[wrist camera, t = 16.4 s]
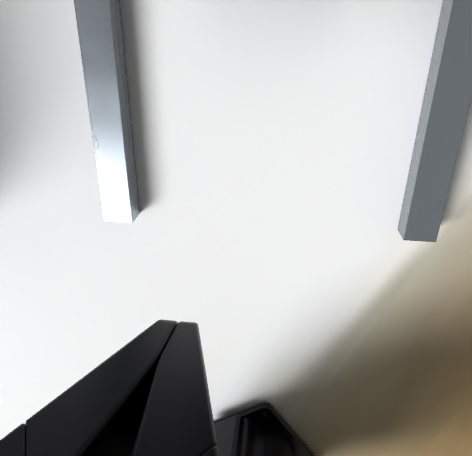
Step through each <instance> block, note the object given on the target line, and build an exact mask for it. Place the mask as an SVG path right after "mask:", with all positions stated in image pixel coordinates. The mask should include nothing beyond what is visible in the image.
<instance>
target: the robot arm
mask: <svg viewBox="0 0 472 456" xmlns="http://www.w3.org/2000/svg"><path fill="white" fill-rule="evenodd" d="M0 456H314V455H313V453H312V452H311V451H310V450H309V449H308V448H307V447H306V445H305V444H304V443H303V442H302V441H301V440H300V438H299V437H298V436H297V435H296V434H295V433H294V431H293V430H292V429H291V428H290V427H289V426H288V424H287V423H286V422H285V421H284V420H283V419H282V417H281V416H280V415H279V414H278V413H277V412H276V410H275V409H274V408H273V407H272V406H271V405H270V404H267V403H262V404H259V405H257V406H254V407H252V408H249V409H247V410H244V411H242V412H240V413H237V414H235V415H232V416H230V417H227V418H225V419H223V420H220V421H218V422H215V423H214V421H213V415H212V409H211V402H210V396H209V390H208V384H207V378H206V371H205V365H204V359H203V353H202V347H201V340H200V334H199V328H198V324H197V323H194V322H179V323H178V322H176V321H171V320H158V321H157V322H155V323H154V324H153V325H151V326H150V327H149V328H147V329H146V330H145V331H144V332H142V333H141V334H140V335H138V336H137V337H136V338H134V339H133V340H132V341H130V342H129V343H128V344H126V345H125V346H124V347H122V348H121V349H120V350H119V351H117V352H116V353H115V354H113V355H112V356H111V357H109V358H108V359H107V360H105V361H104V362H103V363H101V364H100V365H99V366H97V367H96V368H95V369H94V370H92V371H91V372H90V373H88V374H87V375H86V376H84V377H83V378H82V379H80V380H79V381H78V382H76V383H75V384H74V385H73V386H71V387H70V388H69V389H67V390H66V391H65V392H63V393H62V394H61V395H59V396H58V397H57V398H55V399H54V400H53V401H51V402H50V403H49V404H48V405H46V406H45V407H44V408H42V409H41V410H40V411H38V412H37V413H36V414H34V415H33V416H32V417H30V418H29V419H28V420H27V421H26V425H25V424H21V425H20V426H18V427H17V428H16V429H14V430H13V431H12V432H10V433H9V434H8V435H7V436H5V437H4V438H3V439H1V440H0Z"/></svg>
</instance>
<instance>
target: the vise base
mask: <svg viewBox="0 0 472 456" xmlns="http://www.w3.org/2000/svg"><path fill="white" fill-rule="evenodd" d="M74 5H75V12H76V20H77V27H78V34H79V42H80V49H81V56H82V64H83V71H84V79H85V86H86V93H87V101H88V108H89V115H90V123H91V130H92V137H93V145H94V152H95V159H96V167H97V174H98V181H99V189H100V196H101V203H102V211H103V218H104V221H112V222H128V223H132V222H133V221H134V220H135V218H136V217H137V216H138V215H139V214H140V213H139V202H138V192H137V181H136V171H135V160H134V150H133V139H132V129H131V118H130V108H129V97H128V87H127V76H126V66H125V55H124V45H123V34H122V24H121V13H120V2H119V0H74ZM471 98H472V0H443V4H442V9H441V14H440V19H439V24H438V29H437V34H436V39H435V44H434V49H433V54H432V59H431V64H430V69H429V74H428V79H427V84H426V89H425V94H424V100H423V105H422V110H421V115H420V120H419V125H418V130H417V135H416V140H415V145H414V150H413V155H412V160H411V165H410V170H409V175H408V180H407V185H406V190H405V195H404V200H403V205H402V210H401V215H400V220H399V225H398V231H399V233H400V235H401V236H402V238H403V240H411V241H426V242H436V240H437V236H438V232H439V228H440V224H441V220H442V216H443V211H444V207H445V203H446V199H447V195H448V191H449V187H450V183H451V179H452V175H453V171H454V167H455V163H456V159H457V154H458V150H459V146H460V142H461V138H462V134H463V130H464V126H465V122H466V118H467V114H468V110H469V106H470V102H471Z"/></svg>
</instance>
